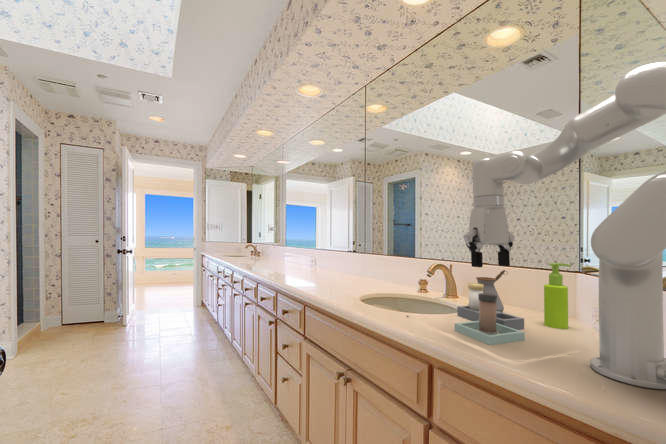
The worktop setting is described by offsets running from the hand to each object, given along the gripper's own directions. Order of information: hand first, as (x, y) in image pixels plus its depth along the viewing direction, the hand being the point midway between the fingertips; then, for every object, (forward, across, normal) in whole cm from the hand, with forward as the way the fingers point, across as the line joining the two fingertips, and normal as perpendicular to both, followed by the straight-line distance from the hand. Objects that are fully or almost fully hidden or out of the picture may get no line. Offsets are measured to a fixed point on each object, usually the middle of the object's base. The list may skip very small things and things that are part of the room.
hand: (490, 266), depth 84 cm
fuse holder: (+19, -10, -11) cm, 25 cm away
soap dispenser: (+20, -28, -1) cm, 34 cm away
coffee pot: (+19, -26, -23) cm, 40 cm away
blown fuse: (+19, 0, -1) cm, 19 cm away
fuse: (+18, -10, -16) cm, 27 cm away
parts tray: (+20, 0, -1) cm, 20 cm away
